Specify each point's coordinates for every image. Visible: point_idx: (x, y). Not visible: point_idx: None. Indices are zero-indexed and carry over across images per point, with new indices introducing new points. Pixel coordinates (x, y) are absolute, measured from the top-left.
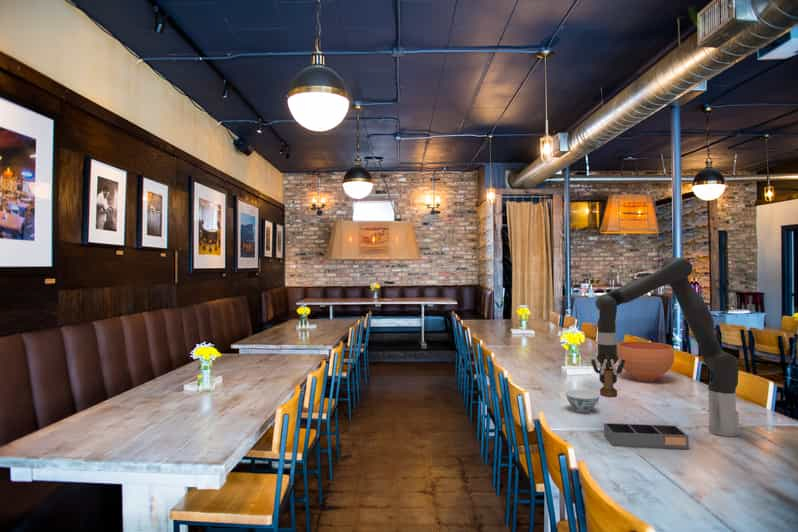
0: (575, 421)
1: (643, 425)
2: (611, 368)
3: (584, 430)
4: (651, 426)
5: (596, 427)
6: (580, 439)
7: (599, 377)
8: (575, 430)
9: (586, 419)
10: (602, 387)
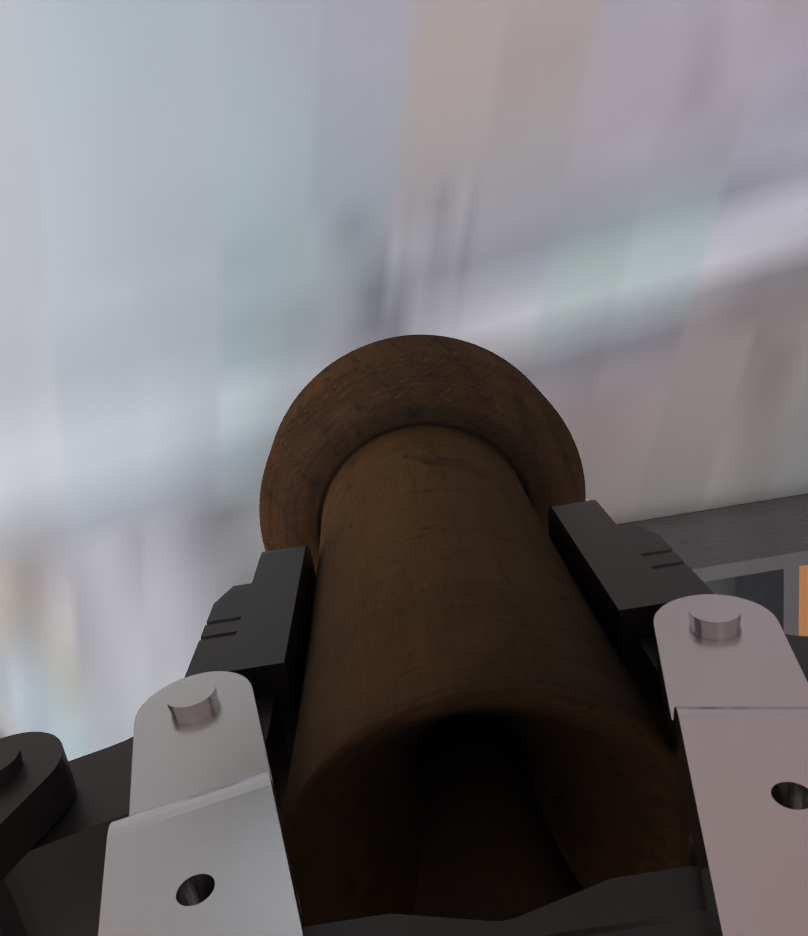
0: (37, 211)
1: (709, 577)
2: (680, 810)
3: (148, 488)
4: (779, 581)
5: (266, 364)
6: (122, 719)
7: (198, 645)
8: (63, 512)
9: (160, 91)
10: (308, 468)
